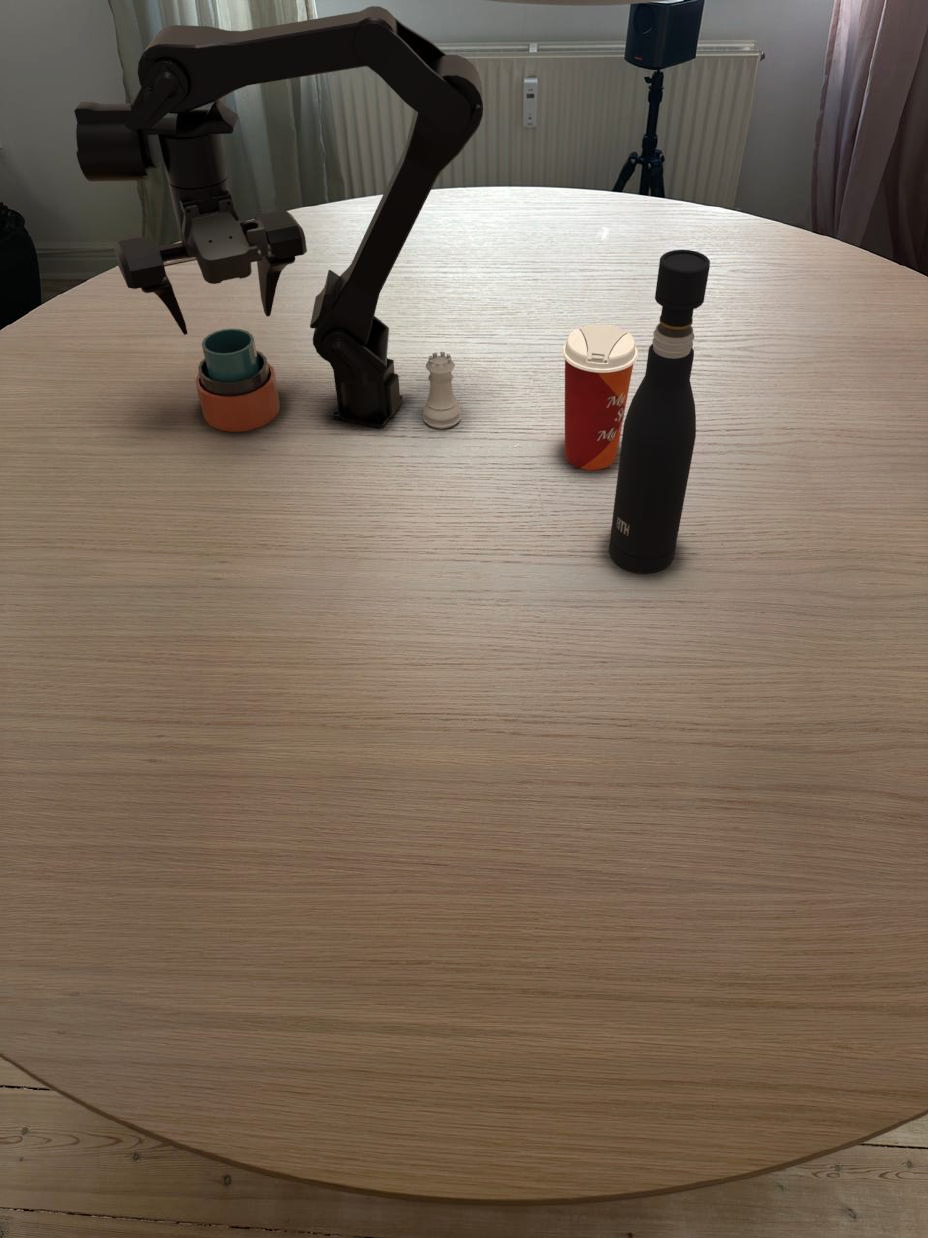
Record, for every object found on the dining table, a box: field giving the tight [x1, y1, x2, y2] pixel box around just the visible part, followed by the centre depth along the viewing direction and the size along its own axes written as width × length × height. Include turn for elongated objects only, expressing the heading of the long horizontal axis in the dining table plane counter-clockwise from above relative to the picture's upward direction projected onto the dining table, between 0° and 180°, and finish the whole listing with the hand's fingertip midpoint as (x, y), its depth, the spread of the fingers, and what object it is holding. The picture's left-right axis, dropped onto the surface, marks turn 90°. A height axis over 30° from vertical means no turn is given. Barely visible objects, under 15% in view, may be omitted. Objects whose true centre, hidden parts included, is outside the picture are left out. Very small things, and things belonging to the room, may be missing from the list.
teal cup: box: [201, 328, 260, 382], centre depth 112 cm, size 6×6×8 cm
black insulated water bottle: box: [608, 249, 711, 574], centre depth 86 cm, size 6×6×30 cm
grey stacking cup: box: [197, 350, 270, 396], centre depth 114 cm, size 8×8×6 cm
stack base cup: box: [195, 361, 281, 433], centre depth 114 cm, size 9×9×4 cm
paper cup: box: [561, 324, 639, 471], centre depth 104 cm, size 8×8×14 cm
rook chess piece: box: [422, 351, 462, 430], centre depth 111 cm, size 4×4×8 cm
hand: (226, 323), depth 107 cm, fingers open, 9 cm apart
